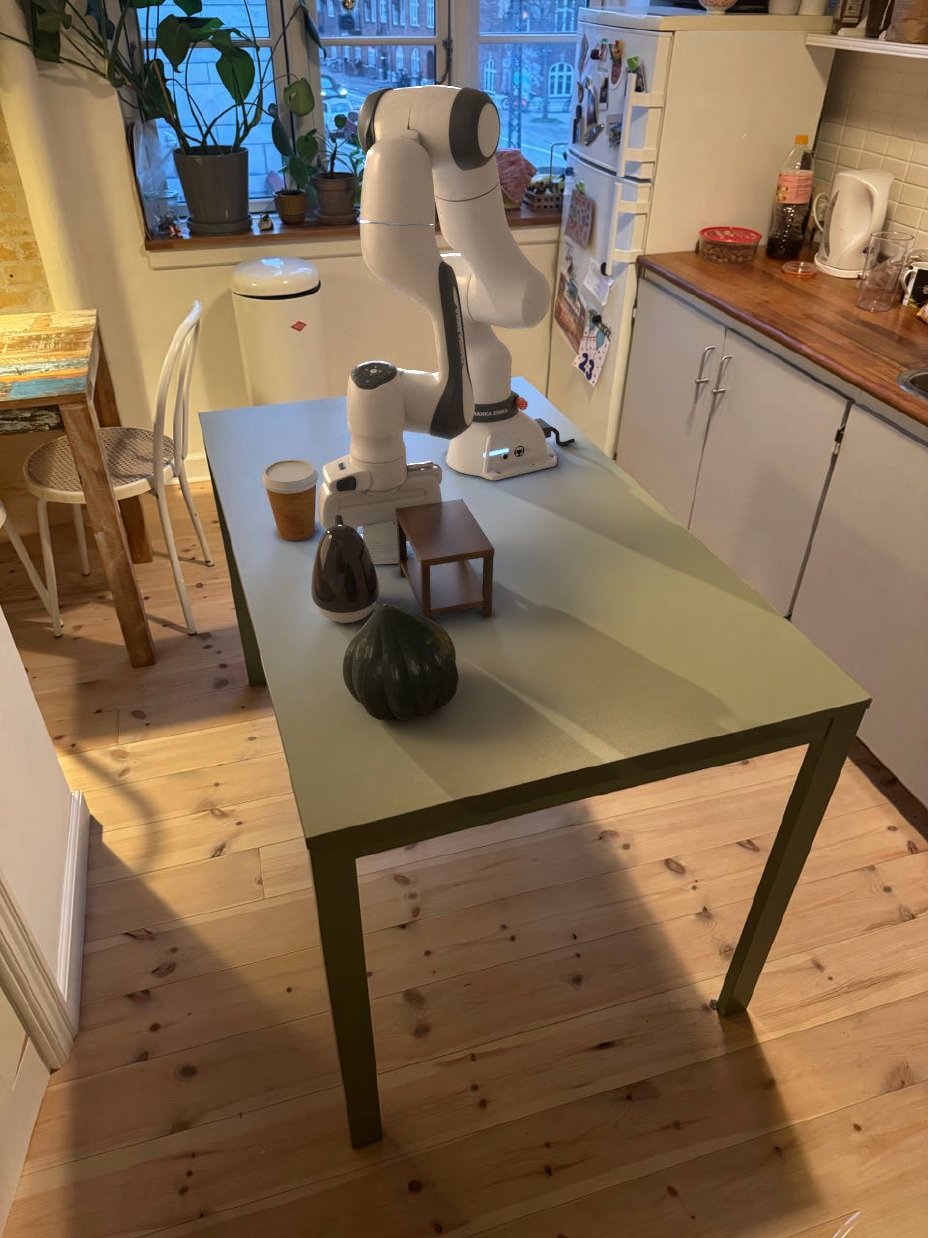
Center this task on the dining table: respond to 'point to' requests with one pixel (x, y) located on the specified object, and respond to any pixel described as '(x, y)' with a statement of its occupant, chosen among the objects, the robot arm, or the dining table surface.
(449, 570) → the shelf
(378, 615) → the squash
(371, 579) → the dark brown egg timer
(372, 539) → the product carton
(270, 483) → the disposable coffee cup
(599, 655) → the dining table surface
